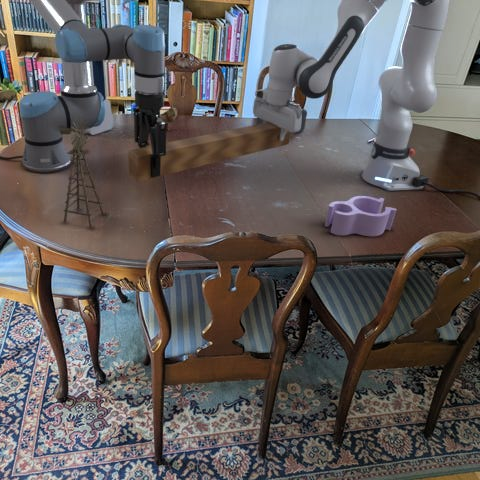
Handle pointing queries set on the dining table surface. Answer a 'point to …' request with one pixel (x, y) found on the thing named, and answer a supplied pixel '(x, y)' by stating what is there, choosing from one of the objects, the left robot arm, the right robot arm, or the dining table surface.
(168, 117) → the lion figurine
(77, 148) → the miniature windmill
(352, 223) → the clip
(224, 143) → the bar
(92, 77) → the electronic device
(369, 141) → the sword
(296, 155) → the dining table surface
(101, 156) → the dining table surface
